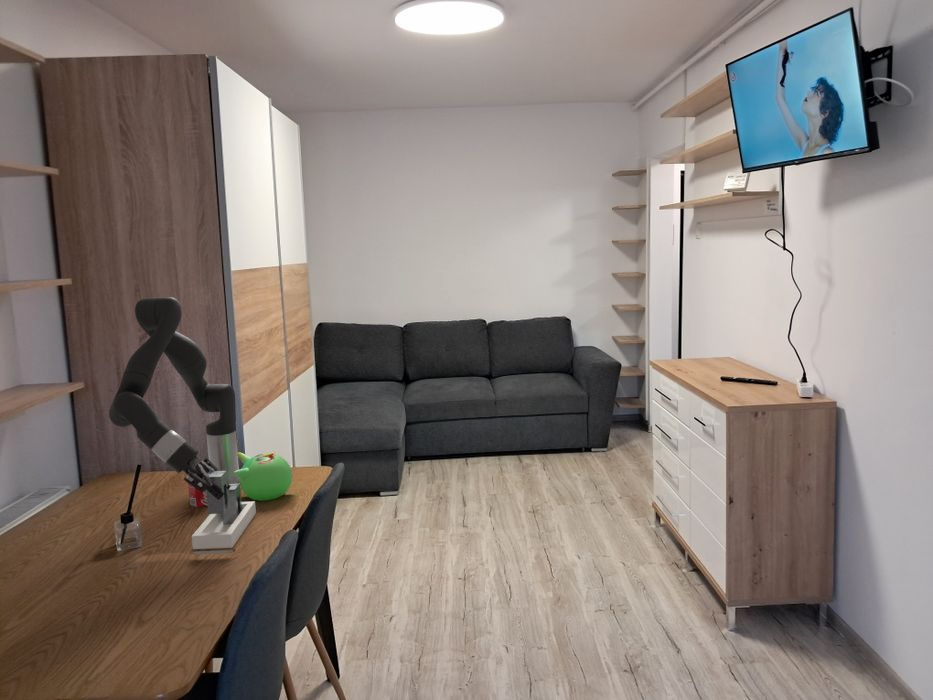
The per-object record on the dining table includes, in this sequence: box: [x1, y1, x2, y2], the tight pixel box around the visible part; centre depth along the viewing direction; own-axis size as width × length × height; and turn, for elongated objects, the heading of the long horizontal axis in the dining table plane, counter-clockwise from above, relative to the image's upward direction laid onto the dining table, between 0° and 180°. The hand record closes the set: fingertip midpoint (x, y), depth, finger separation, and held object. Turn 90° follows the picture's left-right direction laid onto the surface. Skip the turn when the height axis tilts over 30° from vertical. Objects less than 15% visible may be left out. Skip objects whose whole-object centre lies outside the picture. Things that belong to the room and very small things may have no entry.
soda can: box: [187, 483, 208, 508], centre depth 222 cm, size 7×7×12 cm
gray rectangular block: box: [222, 482, 242, 525], centre depth 207 cm, size 4×5×10 cm
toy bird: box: [233, 451, 293, 502], centre depth 228 cm, size 18×17×15 cm
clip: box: [207, 471, 230, 515], centre depth 195 cm, size 4×5×10 cm
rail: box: [191, 500, 257, 556], centre depth 201 cm, size 24×10×5 cm, turn 2°
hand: (224, 493), depth 195 cm, fingers closed on clip, 5 cm apart
